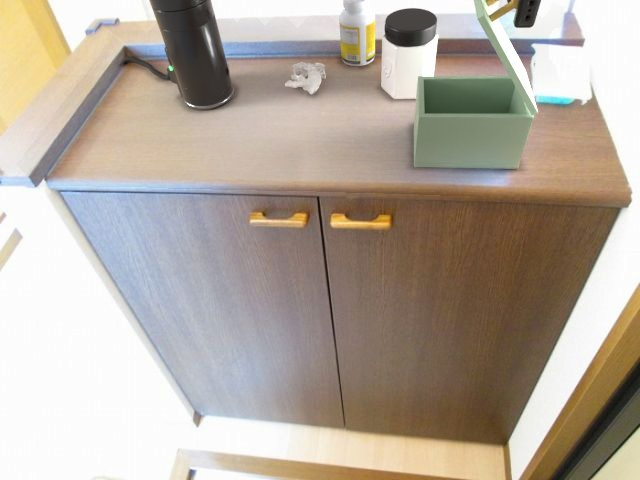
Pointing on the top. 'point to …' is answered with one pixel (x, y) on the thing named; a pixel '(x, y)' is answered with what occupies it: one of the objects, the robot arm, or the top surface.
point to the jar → (408, 51)
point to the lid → (505, 47)
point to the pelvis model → (314, 76)
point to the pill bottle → (357, 32)
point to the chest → (469, 122)
